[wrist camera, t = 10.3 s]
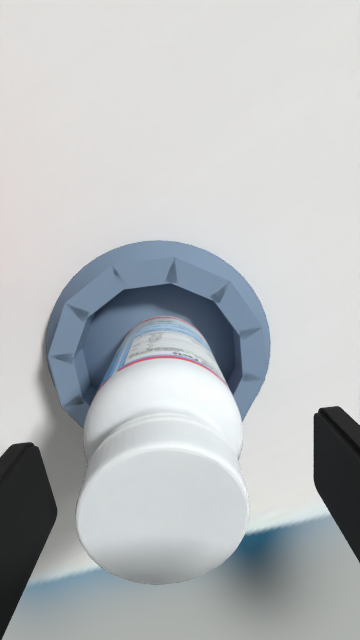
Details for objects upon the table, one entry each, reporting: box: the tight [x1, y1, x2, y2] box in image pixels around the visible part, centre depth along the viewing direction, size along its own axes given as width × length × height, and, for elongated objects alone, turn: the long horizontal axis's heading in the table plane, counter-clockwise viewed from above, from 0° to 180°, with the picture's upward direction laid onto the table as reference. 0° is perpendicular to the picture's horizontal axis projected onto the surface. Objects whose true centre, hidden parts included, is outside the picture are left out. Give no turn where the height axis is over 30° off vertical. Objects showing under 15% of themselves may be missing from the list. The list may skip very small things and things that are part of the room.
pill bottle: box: [75, 316, 250, 585], centre depth 12 cm, size 6×6×11 cm
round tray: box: [46, 241, 270, 429], centre depth 17 cm, size 15×15×3 cm
